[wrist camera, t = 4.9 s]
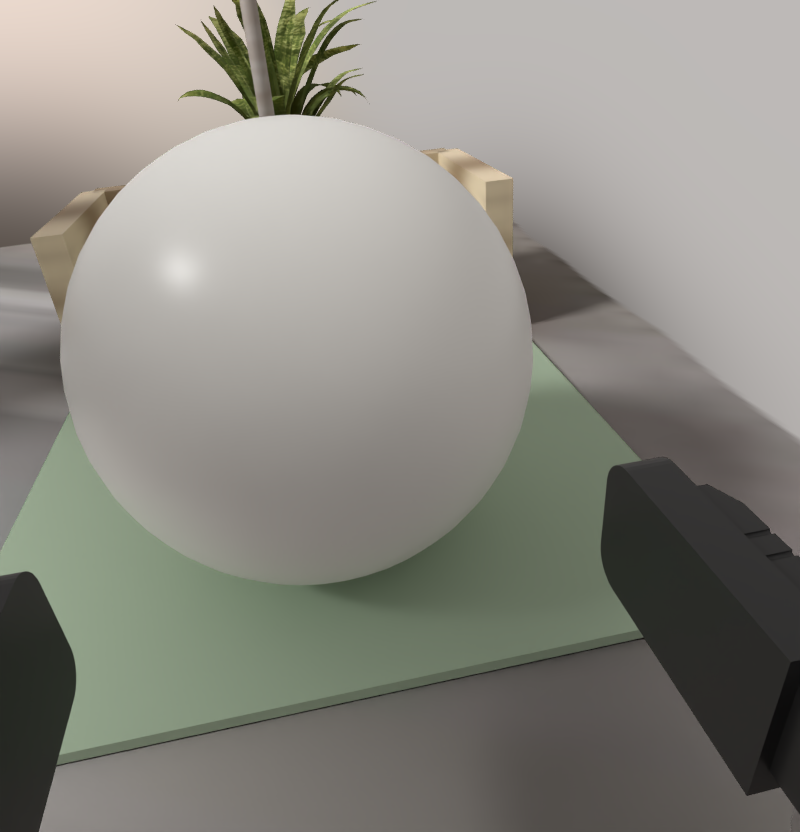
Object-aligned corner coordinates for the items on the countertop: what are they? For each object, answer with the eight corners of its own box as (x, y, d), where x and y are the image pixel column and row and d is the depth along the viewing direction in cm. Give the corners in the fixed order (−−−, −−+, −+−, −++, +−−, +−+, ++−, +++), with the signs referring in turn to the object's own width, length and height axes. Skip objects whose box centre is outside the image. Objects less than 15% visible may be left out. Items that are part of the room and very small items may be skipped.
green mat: (768, 610, 16) (771, 601, 16) (-112, 801, 14) (-119, 793, 13) (459, 267, 40) (459, 262, 40) (121, 314, 37) (120, 309, 37)
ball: (273, 795, 13) (93, 208, 7) (82, 532, 20) (-78, 144, 15) (611, 524, 19) (656, 86, 13) (366, 398, 26) (329, 85, 20)
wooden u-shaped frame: (512, 322, 31) (515, -262, 21) (83, 387, 29) (-142, -237, 19) (453, 258, 40) (436, -172, 30) (124, 303, 38) (-13, -147, 28)
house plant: (412, 258, 42) (390, -57, 34) (192, 282, 42) (114, -33, 33) (393, 207, 54) (373, -33, 46) (223, 224, 54) (172, -15, 46)
